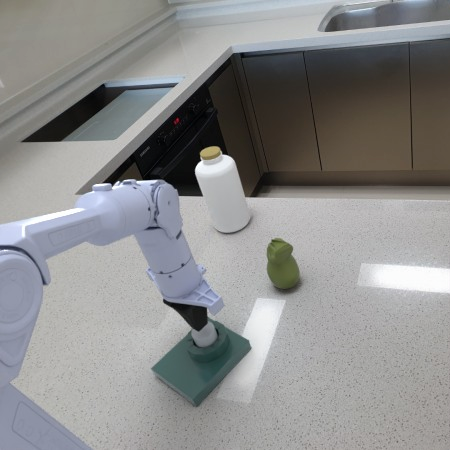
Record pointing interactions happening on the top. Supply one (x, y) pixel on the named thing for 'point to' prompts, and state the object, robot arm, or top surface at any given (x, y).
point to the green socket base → (201, 363)
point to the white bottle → (222, 190)
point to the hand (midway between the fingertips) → (200, 325)
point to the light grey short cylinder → (205, 336)
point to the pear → (282, 264)
